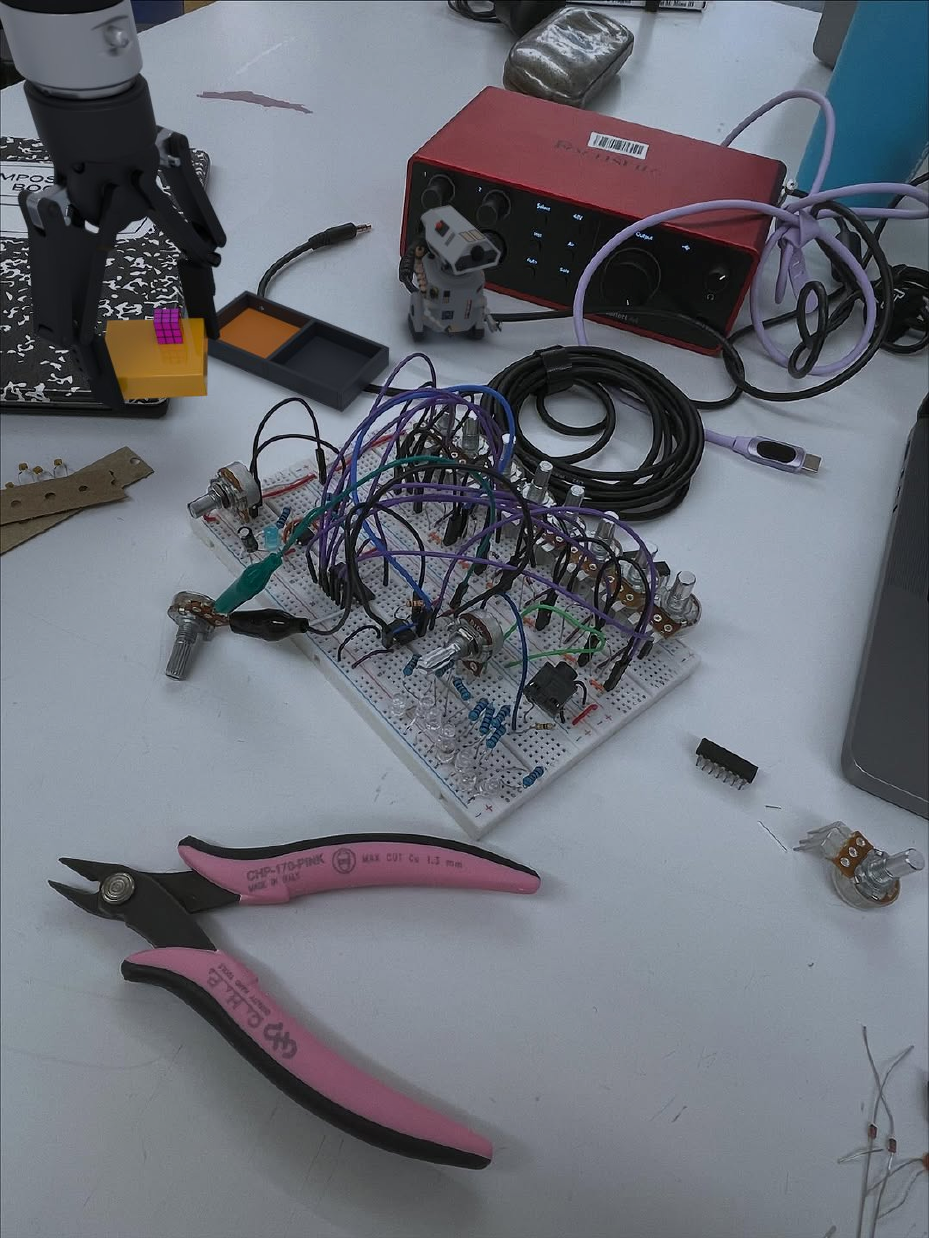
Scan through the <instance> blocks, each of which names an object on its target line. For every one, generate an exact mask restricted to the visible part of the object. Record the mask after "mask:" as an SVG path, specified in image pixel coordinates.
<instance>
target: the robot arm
mask: <svg viewBox="0 0 929 1238" xmlns="http://www.w3.org/2000/svg"><path fill="white" fill-rule="evenodd" d="M0 21H1V24H2V27H3V31H4V34H5V37H6V40H7V44H8V47H9V51H10V54H11V58H12V60H13V64H14V67H15V69H16V71H17V72H18V73H19V74H20V75H21V76H22V77H24V78H25V81H24V82H23V86H22V89H23V92H24V96H25V99H26V101H27V105H28V108H29V112H30V113H31V118H32V121H33V124H34V127H35V130H36V133H37V137H38V139H39V142H40V143H41V145H42V147H43V148H44V150H45V151H46V153H47V155H48V157H49V158H50V160H51V162H52V166H53V181H52V184H53V185H51V186H49V187H47V188H44V189H42V190H41V191H39V192H34V191H32V190H29V189H25V188H24V189H22V190H19V192H18V194H17V204H18V206H19V209H20V211H21V214H22V217H23V221H24V223H25V226H26V229H27V244H28V245H27V247H28V258H29V259H28V261H29V276H30V279H29V280H30V296H31V311H32V325H33V327H32V328H33V334H34V336H35V337H37V338H38V339H40V340H43V341H45V342H47V343H49V344H51V345H54V346H55V347H57V348H60V349H61V350H67V351H68V354H69V357H70V359H71V362H72V366H73V368H74V370H75V372H76V373H78V375H79V376H82V377H85V378H86V381H87V384H88V387H89V390H90V392H91V395H92V398H93V400H94V401H96V402H98V403H99V404H101V405H104V406H106V407H108V408H110V409H111V410H114V411H116V412H119V413H121V412H122V411H123V410H125V409H126V408H127V405H126V402H125V399H124V398H123V395H122V392H121V389H120V385H119V382H118V379H117V376H116V373H115V370H114V366H113V363H112V360H111V357H110V354H109V351H108V348H107V344H106V341H105V336H103V335H100V334H99V333H96V332H95V331H96V326H97V319H98V314H99V309H100V302H101V297H102V291H103V285H104V279H105V272H106V267H107V261H108V256H109V253H110V252H111V251H113V250H114V249H115V248H116V243H117V237H118V234H119V233H121V232H123V231H124V230H126V229H127V228H128V227H129V226H130V225H131V224H132V223H135V222H140V221H142V220H144V219H146V218H148V219H149V221H150V222H151V223H152V224H153V225H154V226H155V227H156V228H157V229H158V230H159V231H160V232H161V233H162V234H163V235H164V236H165V237H166V238H167V239H168V240H169V241H170V242H171V243H172V244H173V245H174V246H175V247H176V248H177V250H178V251H179V252H180V253H181V254H182V255H183V256H185V257H186V258H187V259H186V258H184V257H181V258H180V259H178V260H176V261H175V262H176V267H177V272H178V276H179V281H180V286H181V290H182V291H181V292H182V295H183V301H184V304H185V310H186V313H187V318H203V319H204V323H205V328H206V333H207V338H209V339H212V340H214V341H216V340H217V339H219V338H220V337H221V336H220V331H219V325H218V320H217V315H216V312H217V309H216V305H215V298H214V297H215V296H216V290H217V288H216V282H215V277H214V276H215V275H214V271H213V268H215V269H216V268H219V267H220V265H221V264H222V255H221V253H219V252H217V251H216V250H217V249H218V248H220V249H223V248H225V246H226V244H227V243H228V242H227V241H228V238H227V234H226V232H225V230H224V228H223V226H222V224H221V222H220V219H219V217H218V215H217V213H216V211H215V209H214V207H213V204H212V202H211V200H210V198H209V196H208V194H207V192H206V189H205V188H204V186H203V184H202V182H201V180H200V177H199V175H198V173H197V171H196V169H195V166H194V165H193V157H192V153H191V148H190V142H189V138H188V137H187V136H186V135H185V134H183V133H180V132H178V131H175V130H172V129H171V128H166V127H164V126H161V125H158V124H157V121H156V115H155V111H154V107H153V102H152V96H151V93H150V87H149V83H148V80H147V79H146V78H145V77H144V76H143V75H142V73H140V72H141V71H142V69H143V67H144V66H143V65H144V60H143V56H142V52H141V46H140V40H139V36H138V31H137V26H136V21H135V16H134V12H133V8H132V2H131V0H0ZM159 171H160V172H161V174H162V176H163V178H164V180H165V182H166V183H167V186H168V187H169V189H170V191H171V193H172V195H173V197H174V199H175V201H176V203H177V204H178V207H179V208H180V210H181V212H182V214H183V215H182V214H181V213H180V212H179V211H178V210H177V209H176V208H175V207H174V204H175V203H174V202H173V200H172V199H171V198H170V197H169V196H168V195H167V194H166V193H165V191H164V190H163V189H162V188H161V187H160V185H158V182H157V177H158V174H159ZM183 216H184V217H183ZM86 222H87V223H88V224H89V225H91V226H93V227H96V228H98V229H97V232H94V231H93V230H92V231H91V230H90V229H88V228H87V227H86ZM75 321H76V322H75Z"/></svg>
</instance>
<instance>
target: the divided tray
mask: <svg viewBox="0 0 929 1238" xmlns="http://www.w3.org/2000/svg"><path fill="white" fill-rule="evenodd" d="M258 306H262V307H263V308H264V310H261V309H259V308H258ZM216 315H217V320H218V325H219V331H220V336H221V337H220V338H219V339H217V340H216V341H214V340H212V339H209V338H208V356H210V357H212V358H214V359H217V360H219V361H222V362H223V363H226V364H228V365H230V366H231V365H232V366H233V367H236V368H239V369H241V370H243V371H245V372H248V373H250V374H252V375H255V376H257V377H259V378H262V379H264V380H266V381H269V382H271V383H274V384H276V385H279V386H281V387H283V388H285V389H288V390H290V391H292V392H295V393H297V394H300V395H301V396H304V397H306V398H308V399H311V400H313V401H317V402H319V403H321V404H323V405H325V406H328V407H330V408H333V409H335V410H337V411H340V412H343V411H345V410H346V408H348V407H349V405H350V404H351V403H352V402H354V400H355V399H357V397H358V396H359V395H361V393H362V392H363V391H364V390H365V389H366V388H367V387H368V386H369V385H370V384H371V383H372V382H374V380H376V378H377V377H379V375H380V374H381V373H383V371H384V370H385V369H386V368H387V367H388V366H389V365H390V346H388V345H385V344H383V343H380V342H377V341H375V340H372V339H369V338H367V337H365V336H363V335H359V334H357V333H354V332H352V331H350V330H347V329H345V328H342V327H340V326H337V325H334V324H333V323H329V322H327V321H325V320H322V319H319V318H317V317H314V316H312V315H309V314H307V313H304V312H302V311H299V310H297V309H294V308H292V307H290V306H286V305H284V304H281V303H279V302H277V301H274V300H271V299H269V298H266V297H264V296H263V295H259V294H257V293H254V292H251V291H249V290H247V289H246V290H244V291H243V292H241V293H240V294H238V295H237V296H236V297H234V298H233V299H232V300H231V301H229V302H228V303H227V304H226V305H224V306H223V307H221V308H220V309H219V310H217V311H216Z"/></svg>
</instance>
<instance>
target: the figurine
mask: <svg viewBox="0 0 929 1238" xmlns="http://www.w3.org/2000/svg"><path fill="white" fill-rule="evenodd" d="M420 219H421V220H420V221H421V222H422V224H423V226H424V228H425V241H426V244H427V246H426V245H425V244H421V245H419V246H417V247H416V248H415V253H414V265H413V270H412V271H413V272H412V273H413V274H414V275H415V277H416V278H417V279H416V281H417V283H418V291H412V292H411V296H410V301H409V302H410V303H409V313H408V315H407V322H408V325H409V328H410V331H411V334H412V338H413V340H414V341H415V342H416V341H417V342H418V341H419V342H420V341H425V329H424V326H427V327H428V328H429V329H431V330H432V331H433V332H435V333H446V334H447V336H448V338H452V337H453V336H454V335H455V334H451V333H458V332H459V333H460V332H465V331H470V329H471V333H472V335H473V338H474V339H481V338H482V339H483V338H484V337H485V327H484V325H485V321H486V323H487V327H488V331H489V332H490V333H491V334H494V333H495V332H497V331H499V332H500V333H502V330H503V329H502V327H501V325H503V321H502V318H499V320H498V322H496V320H495V319H493V317H492V314H491V309H490V308H489V307H488V298H487V296H486V295H485V291H484V288H485V283H486V277H485V276H486V275H485V272H484V270H483V269H487V268H492V267H495V266H498V263H499V260H500V257H501V254H502V252H501V251H500V250H499V249H498V248H497V247H496V246H495V245H494V243H495V240H494V238H493V237H492V236H490V235H489V234H488V233H486V232H484V233H481V231H480V230H478V229H477V228H476V227H475V226H474V225H473V224H471V223H470V222H469V221H468V219H466V218H465V217H464V216H463V215H461V214H460V212H458V211H457V210H456V209H455V208H454V207H453V206H452V205H451V204H448V205H443V206H438V207H434V208H430V209H428V211H426V212H424V213H422V215H421V216H420ZM425 249H426V250H427V253H426V254H425V255H424V252H425Z"/></svg>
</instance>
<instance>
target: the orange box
mask: <svg viewBox="0 0 929 1238" xmlns="http://www.w3.org/2000/svg"><path fill="white" fill-rule="evenodd" d="M104 338H105V341H106V344H107V348H108V351H109V354H110V357H111V360H112V363H113V366H114V370H115V373H116V376H117V379H118V382H119V385H120V389H121V392H122V395H123V398H124V400H145V399H166V398H167V399H168V398H170V399H171V398H190V397H191V398H193V397H208V393H209V392H208V391H209V390H208V386H209V385H208V384H209V383H208V381H209V380H208V379H209V378H208V377H209V376H208V375H209V373H208V371H209V369H208V367H209V365H208V361H209V355H208V338H207V333H206V328H205V323H204V319H203V318H188V317H186V318H182V315H181V311H180V308H154V309H153V319H151V318H150V319H117V320H116V319H115V320H112V319H111V320H107V321H106V328H105V336H104Z"/></svg>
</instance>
